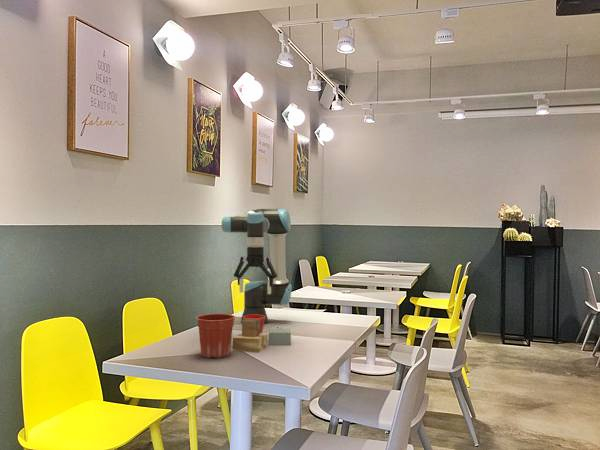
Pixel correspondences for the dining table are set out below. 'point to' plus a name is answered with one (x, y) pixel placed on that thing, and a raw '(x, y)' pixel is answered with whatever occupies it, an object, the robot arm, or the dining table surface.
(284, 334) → the sage green pedestal
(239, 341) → the oak pedestal
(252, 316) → the flower pot
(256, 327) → the walnut block
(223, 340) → the flower pot
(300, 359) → the dining table surface
